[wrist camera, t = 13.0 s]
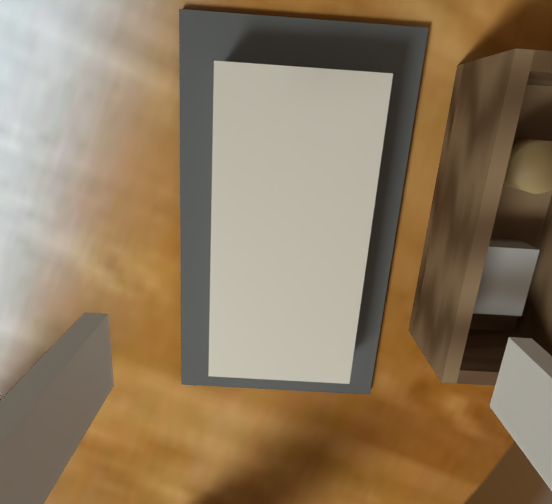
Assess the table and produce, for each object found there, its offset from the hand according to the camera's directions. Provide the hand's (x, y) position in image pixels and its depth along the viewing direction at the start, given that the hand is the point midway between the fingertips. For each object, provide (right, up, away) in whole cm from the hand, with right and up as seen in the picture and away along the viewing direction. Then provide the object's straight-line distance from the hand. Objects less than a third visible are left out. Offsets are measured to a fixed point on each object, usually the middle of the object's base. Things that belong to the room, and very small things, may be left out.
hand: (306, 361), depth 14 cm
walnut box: (+15, +6, +17) cm, 24 cm away
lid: (0, +5, +17) cm, 18 cm away
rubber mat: (0, +5, +17) cm, 18 cm away
